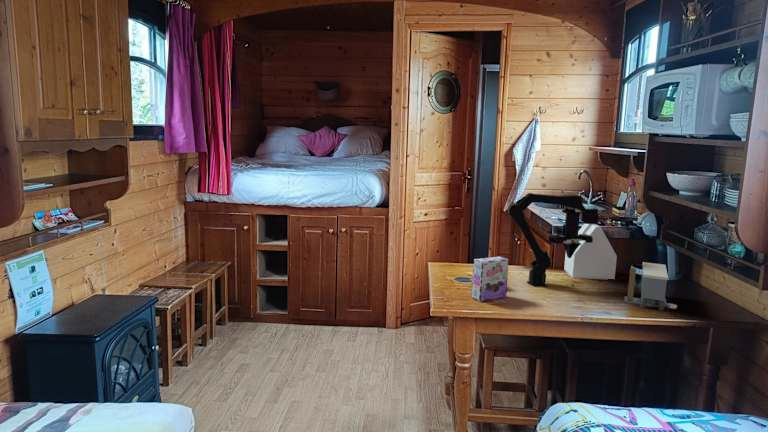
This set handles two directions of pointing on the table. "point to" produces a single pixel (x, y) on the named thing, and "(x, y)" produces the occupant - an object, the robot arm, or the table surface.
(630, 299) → the sweeper
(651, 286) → the cabinet
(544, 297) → the table surface
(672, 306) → the steel token
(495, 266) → the candy box
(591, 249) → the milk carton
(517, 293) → the table surface
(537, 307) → the table surface
